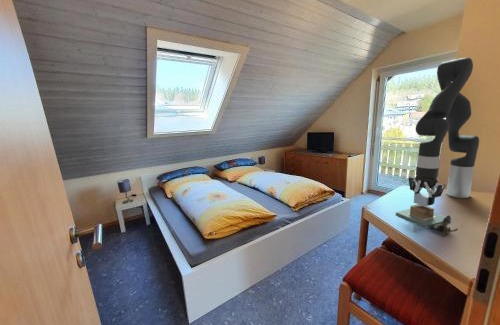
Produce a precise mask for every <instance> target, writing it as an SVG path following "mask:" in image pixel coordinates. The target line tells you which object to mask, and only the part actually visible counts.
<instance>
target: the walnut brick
mask: <svg viewBox="0 0 500 325" xmlns="http://www.w3.org/2000/svg"><path fill="white" fill-rule="evenodd" d="M409 209H410V214H411V215H414V216H416V217H419V218H421V219H423V220H424V219H427V218H431V217H433V215H434V213H435V208H434V207H431V206H426V207H425V206H422V205H419V204H413V205H410V208H409Z"/></svg>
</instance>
